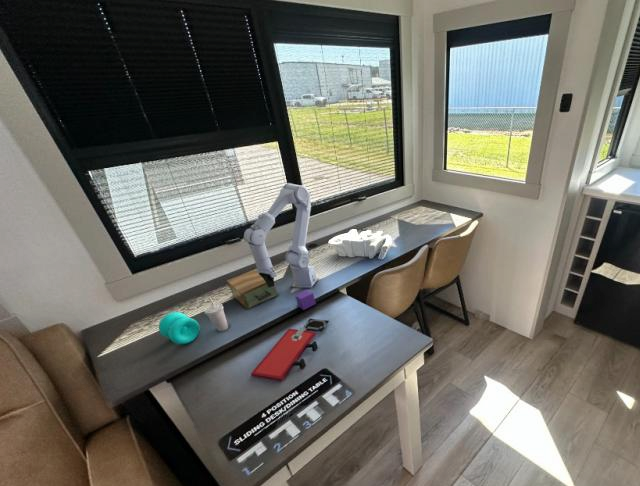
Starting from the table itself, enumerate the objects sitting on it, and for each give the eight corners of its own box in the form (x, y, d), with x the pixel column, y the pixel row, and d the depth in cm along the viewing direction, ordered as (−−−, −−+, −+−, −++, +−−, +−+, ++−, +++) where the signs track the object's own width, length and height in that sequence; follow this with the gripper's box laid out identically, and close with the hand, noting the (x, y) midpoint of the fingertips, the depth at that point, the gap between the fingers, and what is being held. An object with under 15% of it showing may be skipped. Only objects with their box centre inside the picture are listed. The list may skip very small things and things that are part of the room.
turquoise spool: (179, 350, 112) (165, 329, 107) (165, 341, 117) (151, 320, 111) (205, 334, 119) (194, 313, 114) (191, 326, 124) (180, 306, 118)
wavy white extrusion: (399, 249, 171) (397, 231, 165) (388, 263, 158) (386, 244, 153) (342, 244, 182) (338, 227, 176) (327, 257, 169) (323, 238, 163)
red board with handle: (334, 323, 120) (299, 319, 124) (332, 317, 118) (297, 313, 122) (293, 384, 96) (252, 376, 100) (290, 377, 95) (249, 370, 99)
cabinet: (277, 295, 140) (272, 279, 135) (247, 309, 132) (240, 292, 127) (261, 283, 149) (256, 268, 145) (233, 295, 141) (226, 280, 137)
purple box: (315, 303, 132) (313, 292, 129) (303, 310, 129) (300, 299, 126) (310, 300, 135) (307, 289, 132) (297, 306, 132) (294, 295, 128)
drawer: (281, 298, 136) (277, 286, 132) (253, 311, 129) (248, 299, 125) (262, 284, 147) (257, 272, 143) (235, 295, 140) (230, 283, 136)
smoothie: (235, 324, 123) (222, 294, 116) (223, 334, 119) (208, 304, 111) (222, 321, 125) (208, 292, 117) (210, 332, 120) (194, 302, 113)
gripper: (244, 256, 129) (255, 284, 136) (260, 266, 120) (270, 296, 128) (260, 250, 133) (270, 278, 140) (277, 260, 124) (286, 289, 132)
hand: (271, 286), depth 134 cm, fingers closed, pressing on drawer
